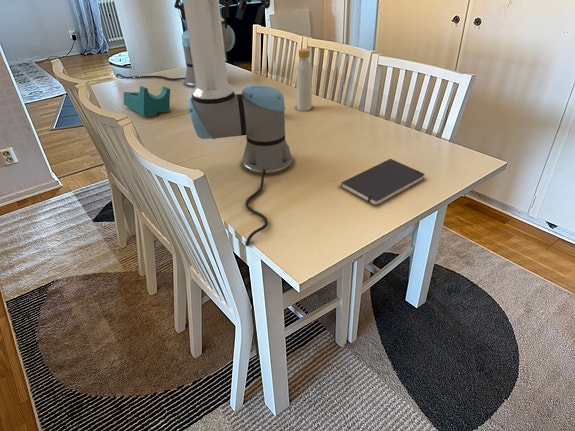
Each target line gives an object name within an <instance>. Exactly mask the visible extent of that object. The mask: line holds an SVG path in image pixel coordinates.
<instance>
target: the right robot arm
mask: <svg viewBox="0 0 575 431" xmlns="http://www.w3.org/2000/svg"><path fill="white" fill-rule="evenodd" d="M180 1H181V0H175V2H174V8H175V9H178V10H179V11H180V17H181V20H182V21H185V27H186V30H187V31H188V36H189V43H190V49H191V56H192V62H193V69H194V75H195V82H196V87H193V89H192V90H191V97H189V98H187V107H188V111H189V116H190V120H191V124H192V127H193V130H194V132H195V134H196V135H197V137H198V138H199V139H201V140H211V139H212V140H216V139H223V138H235V137H242V136H246V137H245V138H246V143H245V146H244V151H243V155H242V166H243V168H244V170H246V171H247V172H249V173H252V174H254V175H255V174H256V175H261V179H260V187H259V188H258V190H257V191H256V192H254V193H252V194H251V195H250V196H249V197H248V198H247V199H246V201H245V207H246V209H248V211H249V212H251V213H253V214H254V215H257V216H259V217H260V218H262V219H263V221H264V224H263V225H262V226H261V227H258V228H257V229H255V230H253V231H252V232H250V234H249V235H248V236H247V239H246V242H245V246H246V247H248V246H250V242H251V240H252V238H253V237H254V236H255V235H256V234H258V233H259V232H262V231H263V230H265V229H266V228H267V226H268V224H269V222H268V219H267V217H266V216H265V215H264V214H262V213H261V212H258V211H256V210H254V209H253V208H252V207H250V205H249V203H250V202H251V200H252V199H254V198H255V197H256V196H257V195H259V194H260V193H261V192H262V190H263V187H264V181H265V176H269V175H277V174H280V173H283V172H286V171H287V170H289V169H290V167H291V166H292V163H293V158H292V153H291V150H290V146H289V145H288V143H287V140H286V118H285V117H286V115H285V114H286V112H285V110H286V106H285V98H284V95H283V93H282V92H281V91H280V90H279V89H277V88H275V87H272V86H268V85H261V84H252V85H248V86H244V87H243V88H242V90H241V93H235V88H234V86H232V85H231V84H230V83H229V80H228V71H227V63H226V62H227V61H226V54H225V52H224V43H223V34H222V25H221V18H222V16H221V7H220V3H221V4H222V5H223V6H222V13H223V19H224V24H225V28H227V25H228V24H227V23H228V22H227V18H230V10H229V9H230V7H231V6H233V5H234V1H233V0H227V1H226V0H182V3H181V4H180ZM250 310H251V312H250V313H251V319H252V329H253V337H254V346H255V354H256V359H257V360H260V352H259V341H258V333H257V323H256V316H255V308H253V307H252V308H250Z"/></svg>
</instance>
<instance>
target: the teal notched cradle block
mask: <svg viewBox="0 0 575 431" xmlns="http://www.w3.org/2000/svg"><path fill="white" fill-rule="evenodd" d="M123 105H124V106H126V107H128V109H131V110H133V111H134V112H136V113H138V114H139V115H141V116H143V117H156V116H158V113H170V109H171V108H170V105H171V88H169V87H166V86H162V87H161V91H160V93H159V94H158V95H155V94H153V93H151V92H149V89H148V88H147V87H145V86H141V85H140V86H139V91H123Z"/></svg>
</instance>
